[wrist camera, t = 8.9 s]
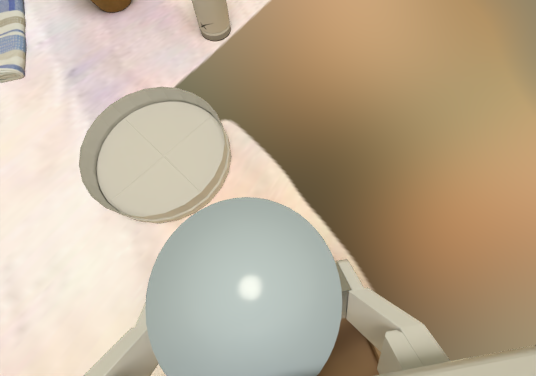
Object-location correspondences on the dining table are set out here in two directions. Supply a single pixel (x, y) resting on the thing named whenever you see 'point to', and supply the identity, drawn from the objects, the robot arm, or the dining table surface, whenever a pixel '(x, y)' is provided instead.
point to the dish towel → (12, 40)
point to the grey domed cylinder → (244, 294)
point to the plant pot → (112, 5)
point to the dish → (155, 155)
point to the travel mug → (212, 18)
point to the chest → (351, 354)
